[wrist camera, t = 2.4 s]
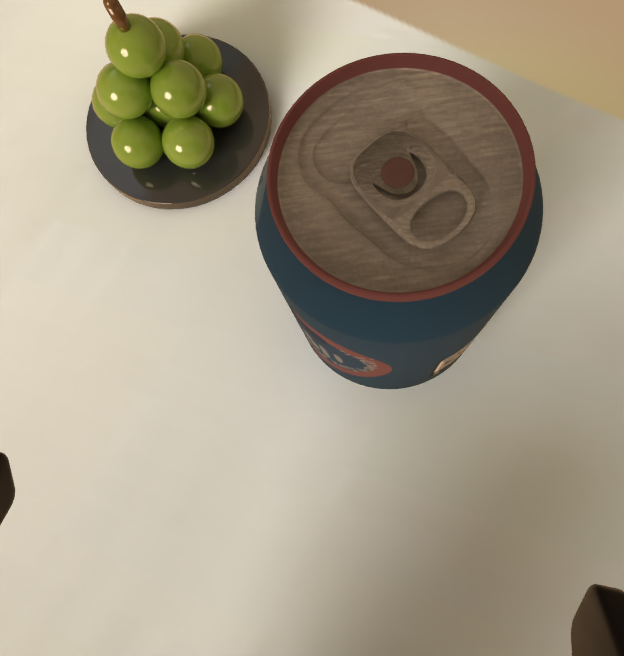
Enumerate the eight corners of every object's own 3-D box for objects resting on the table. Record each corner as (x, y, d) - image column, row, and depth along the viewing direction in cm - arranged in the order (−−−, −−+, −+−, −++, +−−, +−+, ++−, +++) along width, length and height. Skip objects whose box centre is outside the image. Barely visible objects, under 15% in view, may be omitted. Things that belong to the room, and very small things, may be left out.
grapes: (201, 243, 26) (132, 155, 18) (56, 154, 28) (-61, 41, 20) (307, 91, 27) (281, -49, 20) (161, 15, 29) (86, -141, 21)
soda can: (269, 300, 25) (176, 161, 13) (394, 196, 25) (410, -28, 14) (379, 429, 23) (382, 398, 12) (510, 315, 24) (641, 177, 12)
